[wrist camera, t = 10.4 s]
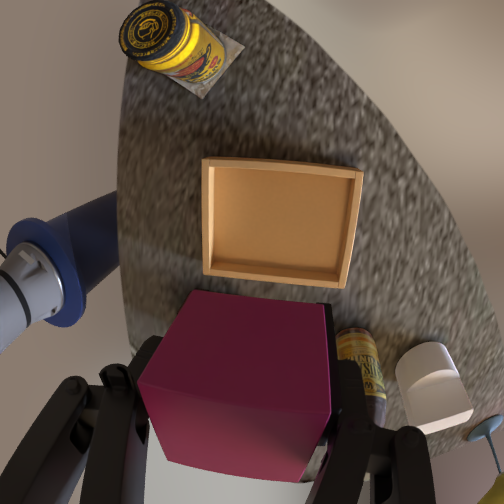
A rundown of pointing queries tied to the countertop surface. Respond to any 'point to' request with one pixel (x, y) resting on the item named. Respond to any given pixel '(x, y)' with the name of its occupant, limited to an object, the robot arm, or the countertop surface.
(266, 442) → the mulberry block
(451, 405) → the base with upright slab
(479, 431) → the cocktail glass
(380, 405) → the sauce bottle
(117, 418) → the robot arm
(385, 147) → the countertop surface
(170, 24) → the condiment
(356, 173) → the oak tray
